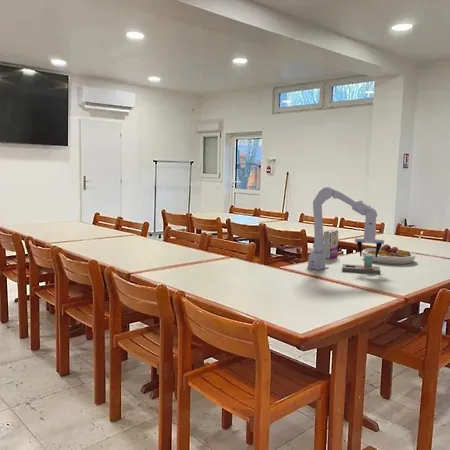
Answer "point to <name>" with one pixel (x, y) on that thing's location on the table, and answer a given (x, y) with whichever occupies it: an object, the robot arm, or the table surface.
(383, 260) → the bowl
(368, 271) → the board with square hole
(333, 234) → the candy bar box
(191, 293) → the table surface
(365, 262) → the plug
